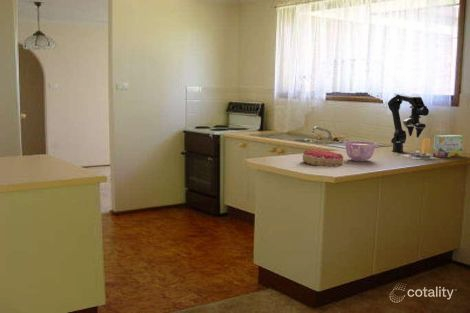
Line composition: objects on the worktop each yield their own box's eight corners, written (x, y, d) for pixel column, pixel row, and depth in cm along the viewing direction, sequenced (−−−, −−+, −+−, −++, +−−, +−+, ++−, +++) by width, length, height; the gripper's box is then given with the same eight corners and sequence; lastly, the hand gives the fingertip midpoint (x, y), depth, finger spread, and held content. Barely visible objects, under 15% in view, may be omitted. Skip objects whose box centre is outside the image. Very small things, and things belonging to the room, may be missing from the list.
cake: (294, 159, 331) (295, 147, 330) (327, 159, 341) (329, 147, 340) (314, 168, 309) (316, 155, 308) (349, 168, 319) (351, 155, 317)
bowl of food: (352, 163, 327) (353, 145, 325) (338, 158, 346) (339, 141, 344) (381, 162, 332) (382, 144, 330) (365, 157, 351) (366, 140, 349)
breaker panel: (400, 155, 364) (401, 150, 364) (422, 155, 368) (422, 150, 368) (414, 159, 347) (415, 154, 347) (437, 159, 351) (437, 154, 350)
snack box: (438, 157, 358) (440, 136, 356) (432, 156, 364) (434, 135, 361) (461, 156, 366) (463, 135, 364) (455, 155, 371) (457, 134, 369)
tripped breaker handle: (421, 153, 358) (422, 138, 356) (426, 153, 358) (427, 138, 357) (423, 154, 355) (424, 139, 353) (429, 154, 356) (430, 139, 354)
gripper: (398, 113, 372) (396, 135, 374) (412, 115, 354) (410, 138, 356) (412, 113, 374) (410, 135, 377) (426, 115, 356) (425, 138, 359)
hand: (413, 136), depth 367 cm, fingers open, 9 cm apart
